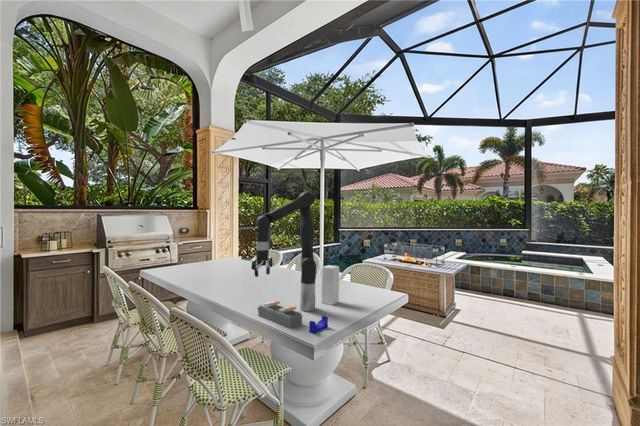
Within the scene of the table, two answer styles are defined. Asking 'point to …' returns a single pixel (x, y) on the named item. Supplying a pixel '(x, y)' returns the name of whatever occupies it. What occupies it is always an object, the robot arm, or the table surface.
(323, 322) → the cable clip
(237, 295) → the table surface
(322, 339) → the table surface
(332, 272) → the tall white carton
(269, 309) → the box
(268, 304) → the rocker
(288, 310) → the block
